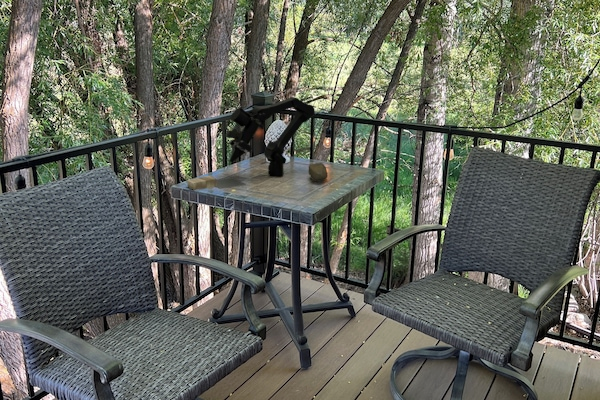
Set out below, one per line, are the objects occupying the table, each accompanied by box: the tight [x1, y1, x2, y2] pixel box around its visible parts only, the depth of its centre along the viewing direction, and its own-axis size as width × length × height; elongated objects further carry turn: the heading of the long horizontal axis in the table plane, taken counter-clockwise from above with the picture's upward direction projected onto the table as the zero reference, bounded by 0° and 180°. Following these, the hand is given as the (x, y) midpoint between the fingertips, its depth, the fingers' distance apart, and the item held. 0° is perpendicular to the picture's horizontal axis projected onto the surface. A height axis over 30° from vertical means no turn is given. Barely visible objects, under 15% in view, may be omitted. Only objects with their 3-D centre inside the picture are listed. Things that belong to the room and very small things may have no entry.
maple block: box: [186, 175, 217, 191], centre depth 253 cm, size 4×6×11 cm
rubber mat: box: [215, 176, 246, 190], centre depth 260 cm, size 13×14×1 cm
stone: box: [308, 162, 328, 182], centre depth 266 cm, size 17×9×8 cm, turn 6°
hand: (230, 161), depth 259 cm, fingers closed
